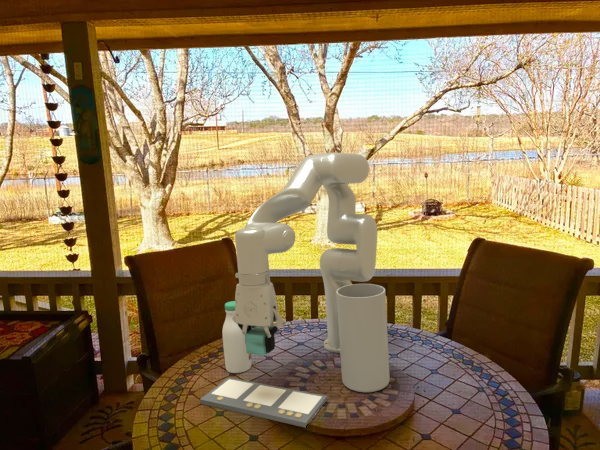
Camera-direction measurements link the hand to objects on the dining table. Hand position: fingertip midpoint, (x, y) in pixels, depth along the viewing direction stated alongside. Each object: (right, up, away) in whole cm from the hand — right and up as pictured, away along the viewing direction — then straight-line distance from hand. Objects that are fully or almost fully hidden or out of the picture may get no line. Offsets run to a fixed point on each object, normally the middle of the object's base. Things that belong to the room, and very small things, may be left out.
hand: (260, 348), depth 108 cm
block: (0, 0, 0) cm, 1 cm away
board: (+1, -14, +1) cm, 14 cm away
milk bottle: (-8, -12, +21) cm, 25 cm away
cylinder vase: (+27, -11, +7) cm, 30 cm away
